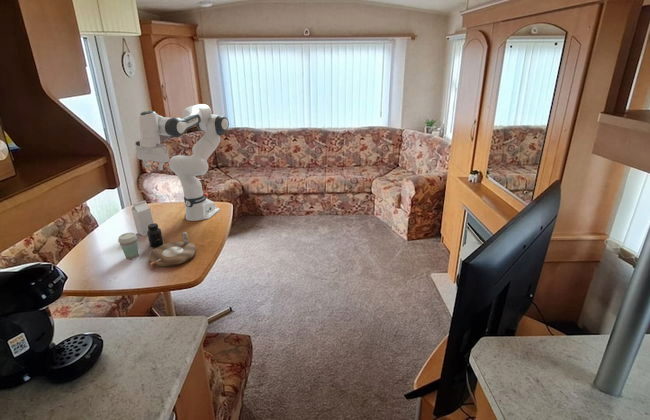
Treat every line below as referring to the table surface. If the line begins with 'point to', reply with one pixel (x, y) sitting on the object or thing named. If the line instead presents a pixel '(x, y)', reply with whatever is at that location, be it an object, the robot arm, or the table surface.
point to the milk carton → (142, 217)
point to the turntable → (173, 252)
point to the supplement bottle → (154, 235)
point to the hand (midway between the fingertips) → (154, 169)
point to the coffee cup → (129, 245)
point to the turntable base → (153, 265)
